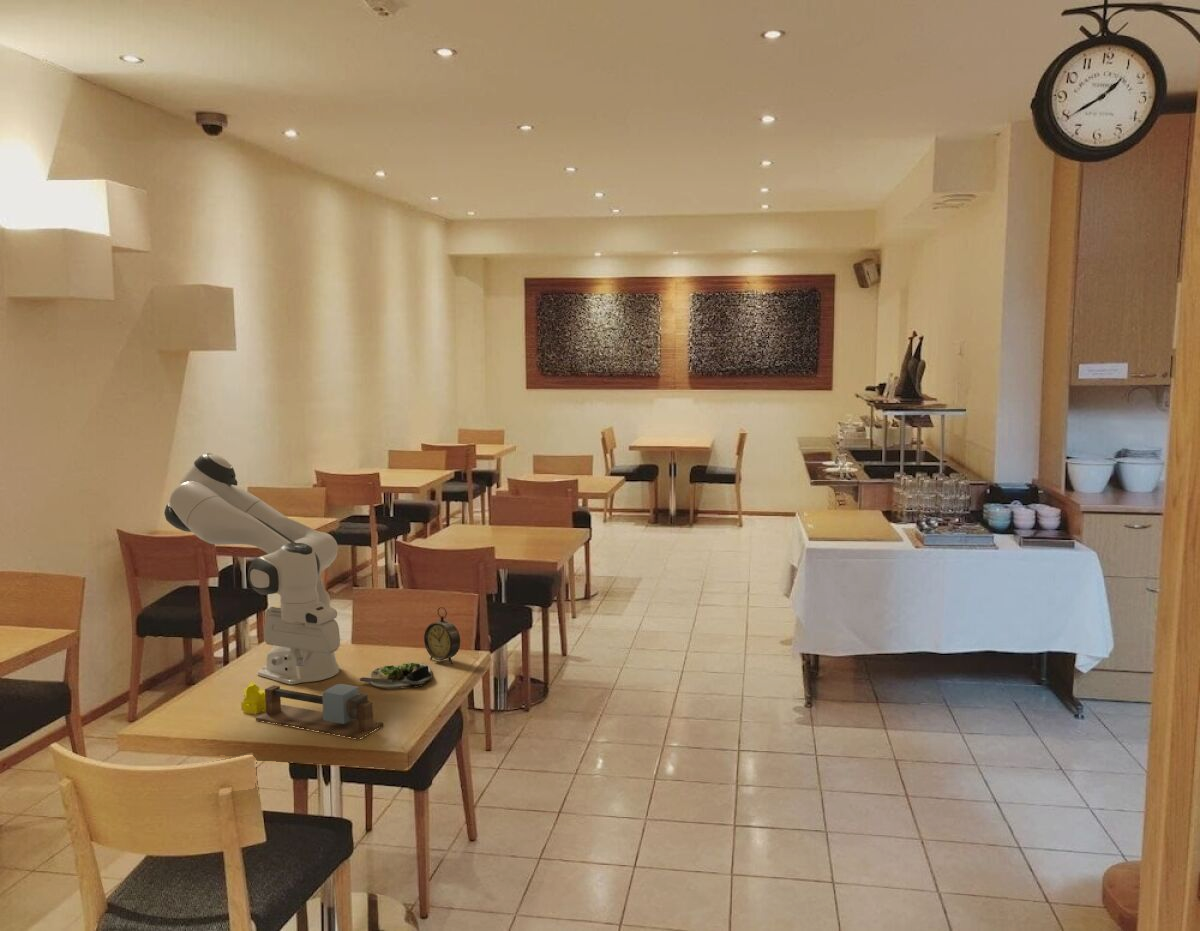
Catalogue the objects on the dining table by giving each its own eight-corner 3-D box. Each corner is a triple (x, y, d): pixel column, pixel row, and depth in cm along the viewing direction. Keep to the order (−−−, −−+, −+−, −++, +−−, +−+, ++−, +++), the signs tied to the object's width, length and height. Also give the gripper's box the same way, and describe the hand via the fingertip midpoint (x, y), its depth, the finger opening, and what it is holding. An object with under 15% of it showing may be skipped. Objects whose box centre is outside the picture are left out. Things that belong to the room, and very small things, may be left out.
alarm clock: (423, 660, 272) (421, 606, 270) (436, 655, 276) (435, 602, 274) (451, 667, 266) (449, 612, 264) (464, 662, 270) (462, 607, 268)
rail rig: (255, 720, 229) (254, 688, 228) (281, 707, 237) (280, 676, 236) (359, 740, 216) (358, 706, 215) (383, 725, 225) (381, 693, 224)
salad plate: (359, 696, 245) (358, 679, 245) (359, 673, 262) (359, 657, 262) (434, 689, 250) (433, 672, 249) (429, 667, 267) (429, 651, 267)
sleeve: (323, 720, 222) (322, 691, 221) (339, 711, 228) (338, 683, 227) (344, 723, 220) (342, 695, 219) (360, 714, 225) (358, 686, 224)
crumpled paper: (264, 715, 232) (262, 685, 231) (236, 712, 234) (234, 682, 233) (278, 706, 238) (276, 677, 237) (250, 703, 240) (249, 674, 239)
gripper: (256, 609, 226) (259, 664, 228) (326, 618, 219) (328, 675, 221) (274, 602, 232) (276, 656, 234) (342, 611, 225) (344, 666, 226)
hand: (302, 665), depth 227 cm, fingers closed
